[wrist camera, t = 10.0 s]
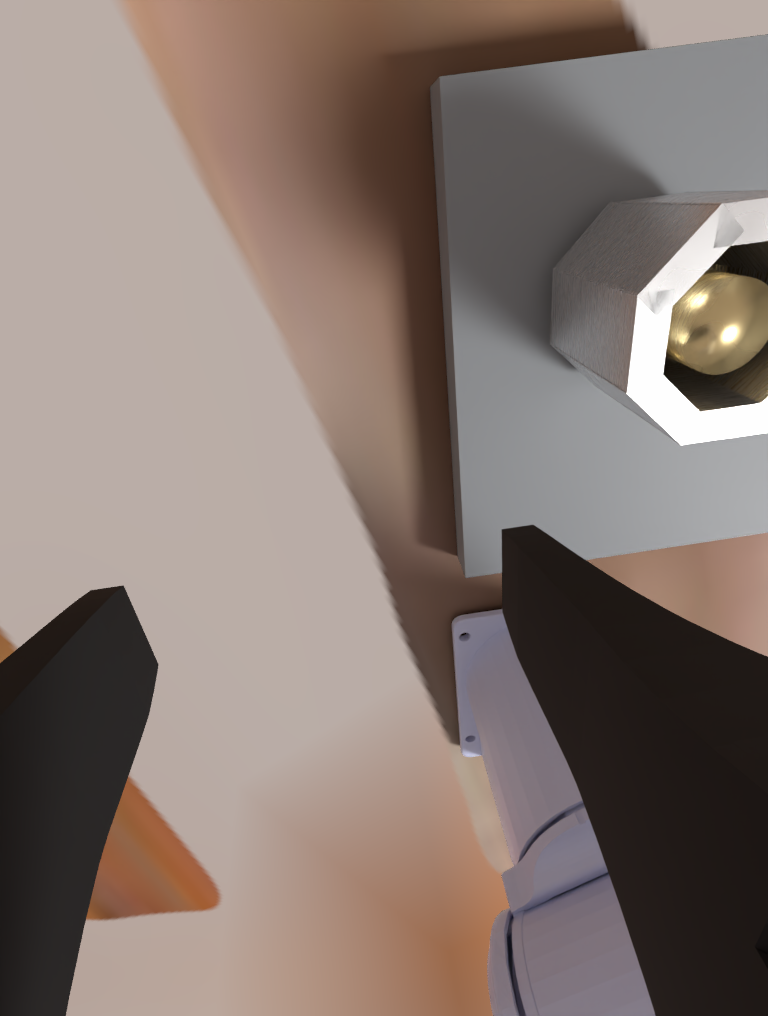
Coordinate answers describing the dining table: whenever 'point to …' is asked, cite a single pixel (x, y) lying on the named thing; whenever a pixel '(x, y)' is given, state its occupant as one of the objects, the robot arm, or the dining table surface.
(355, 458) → the dining table surface
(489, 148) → the post board
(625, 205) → the steel collar
